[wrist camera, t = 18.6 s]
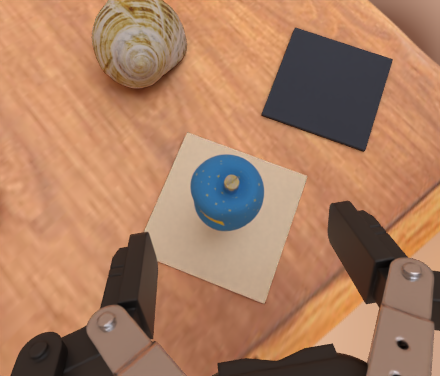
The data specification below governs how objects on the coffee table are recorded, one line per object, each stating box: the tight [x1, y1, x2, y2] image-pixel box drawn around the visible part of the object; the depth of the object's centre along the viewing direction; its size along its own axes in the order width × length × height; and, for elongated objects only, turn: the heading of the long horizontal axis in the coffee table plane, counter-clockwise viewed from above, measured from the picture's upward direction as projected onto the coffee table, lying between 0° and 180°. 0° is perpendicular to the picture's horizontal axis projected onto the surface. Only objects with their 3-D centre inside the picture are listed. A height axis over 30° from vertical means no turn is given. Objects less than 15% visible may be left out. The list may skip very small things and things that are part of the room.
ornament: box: [190, 154, 264, 231], centre depth 26 cm, size 5×5×15 cm
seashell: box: [92, 0, 187, 88], centre depth 35 cm, size 10×10×10 cm
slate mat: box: [262, 28, 393, 151], centre depth 37 cm, size 12×12×1 cm
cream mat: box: [144, 132, 307, 304], centre depth 34 cm, size 14×14×1 cm
